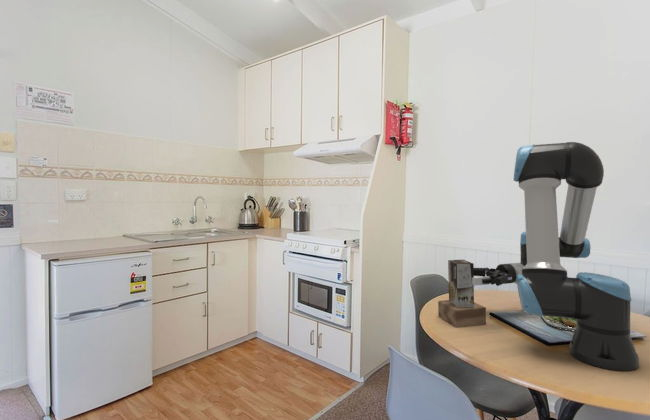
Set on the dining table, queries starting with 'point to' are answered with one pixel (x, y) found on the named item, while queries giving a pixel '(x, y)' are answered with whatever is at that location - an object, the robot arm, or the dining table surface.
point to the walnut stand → (461, 314)
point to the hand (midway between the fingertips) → (461, 277)
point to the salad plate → (565, 321)
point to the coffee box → (461, 283)
